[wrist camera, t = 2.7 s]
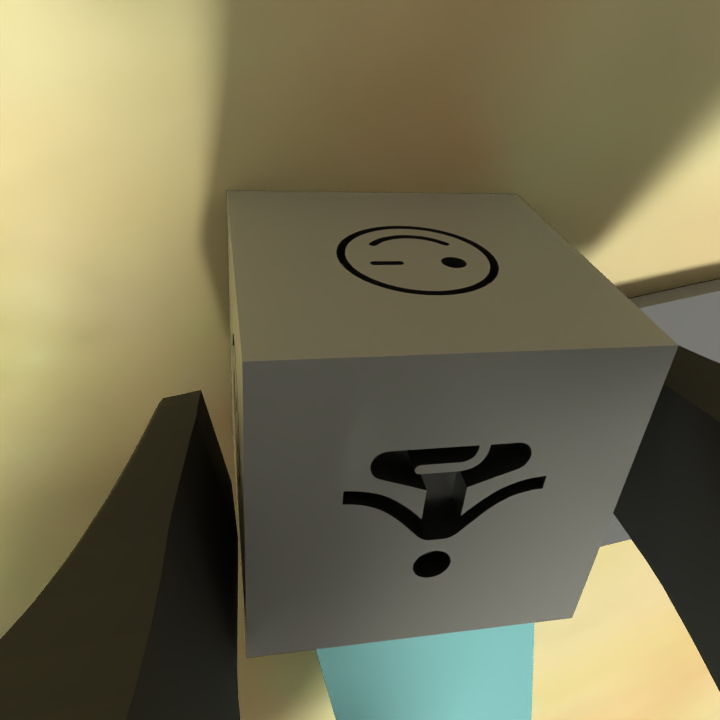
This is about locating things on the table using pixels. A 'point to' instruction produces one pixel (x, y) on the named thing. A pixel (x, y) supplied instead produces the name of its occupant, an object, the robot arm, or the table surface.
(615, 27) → the table surface
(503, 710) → the turquoise box
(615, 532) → the stub pad
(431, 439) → the dice cube
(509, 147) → the table surface
